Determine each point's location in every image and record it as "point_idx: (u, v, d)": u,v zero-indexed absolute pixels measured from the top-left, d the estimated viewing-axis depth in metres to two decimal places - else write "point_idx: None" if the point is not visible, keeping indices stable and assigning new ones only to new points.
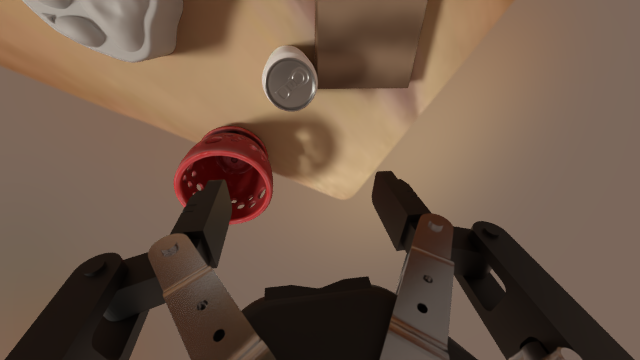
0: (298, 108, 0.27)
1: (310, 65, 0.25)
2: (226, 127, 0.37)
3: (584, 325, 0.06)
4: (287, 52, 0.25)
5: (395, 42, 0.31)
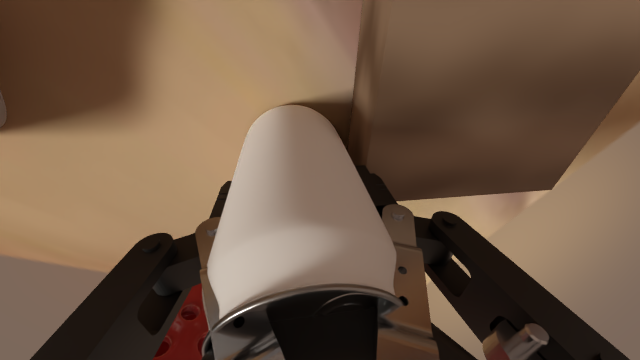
0: None
1: (390, 260, 0.06)
2: None
3: (539, 297, 0.06)
4: (300, 225, 0.06)
5: (563, 104, 0.12)
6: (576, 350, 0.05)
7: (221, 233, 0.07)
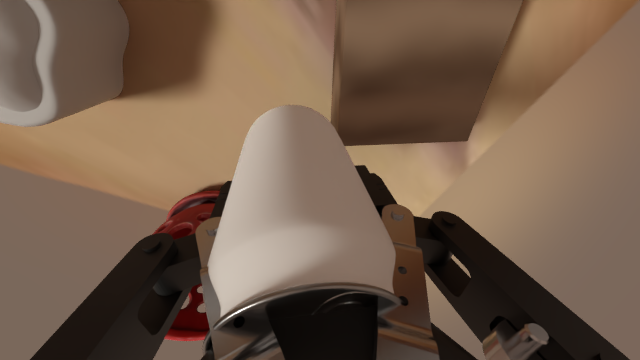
0: None
1: (389, 259, 0.06)
2: (205, 194, 0.26)
3: (539, 296, 0.06)
4: (300, 224, 0.06)
5: (457, 80, 0.20)
6: (576, 350, 0.05)
7: (222, 232, 0.07)
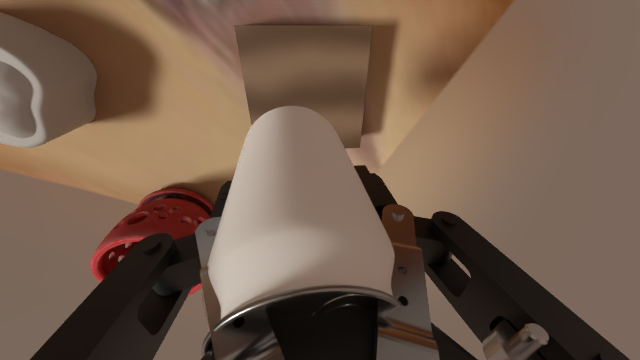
0: None
1: (389, 261, 0.06)
2: (164, 191, 0.34)
3: (539, 296, 0.06)
4: (299, 227, 0.06)
5: (337, 104, 0.28)
6: (576, 350, 0.05)
7: (221, 234, 0.07)
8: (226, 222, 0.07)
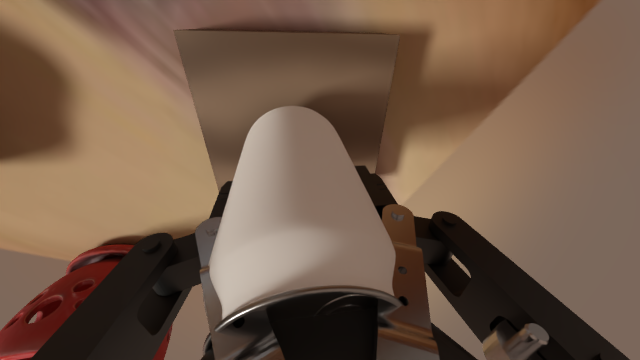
0: None
1: (390, 261, 0.06)
2: (101, 250, 0.25)
3: (539, 296, 0.06)
4: (300, 227, 0.06)
5: None
6: (576, 350, 0.05)
7: (222, 234, 0.07)
8: (227, 222, 0.07)
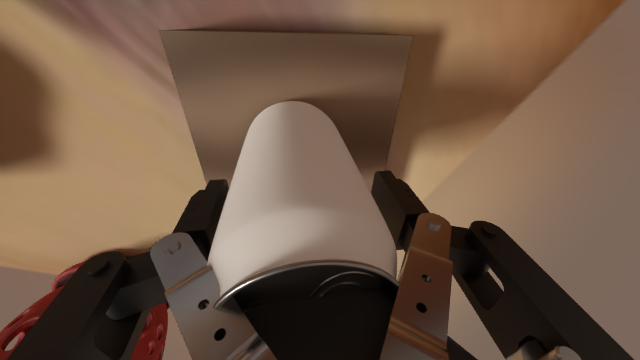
0: None
1: (386, 243, 0.07)
2: None
3: (582, 324, 0.06)
4: (302, 207, 0.06)
5: None
6: None
7: (226, 216, 0.07)
8: (231, 205, 0.07)
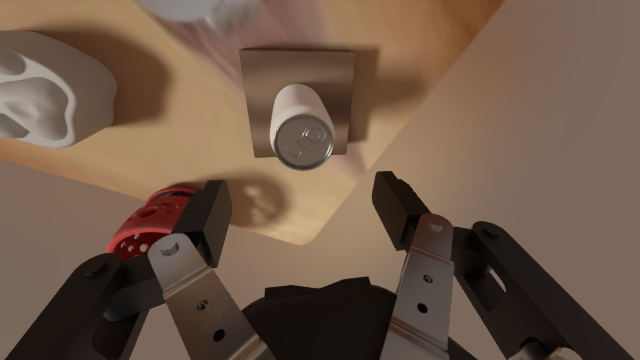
0: (311, 167, 0.23)
1: (328, 120, 0.21)
2: (171, 189, 0.38)
3: (585, 325, 0.06)
4: (301, 105, 0.21)
5: None
6: None
7: (276, 113, 0.22)
8: (277, 111, 0.22)
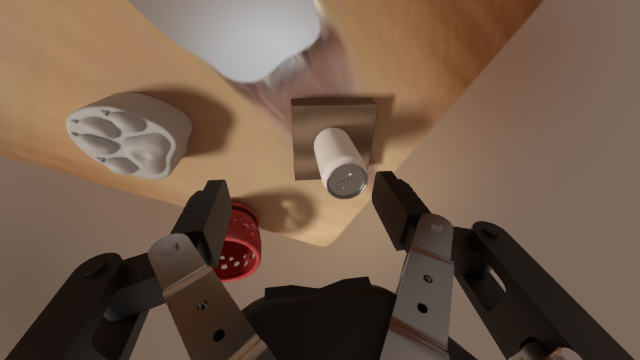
0: (350, 196, 0.32)
1: (363, 165, 0.30)
2: None
3: (585, 325, 0.06)
4: (346, 156, 0.30)
5: None
6: None
7: (327, 160, 0.31)
8: (327, 157, 0.31)
